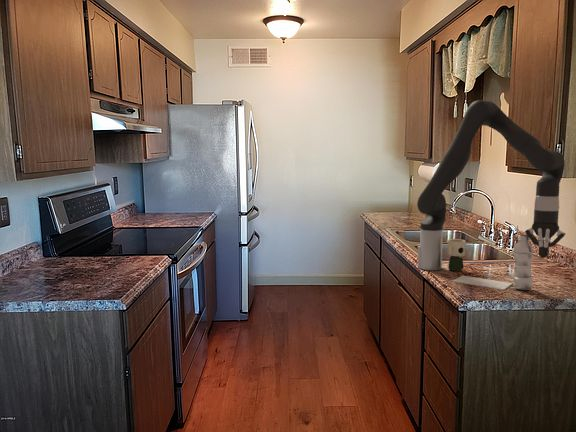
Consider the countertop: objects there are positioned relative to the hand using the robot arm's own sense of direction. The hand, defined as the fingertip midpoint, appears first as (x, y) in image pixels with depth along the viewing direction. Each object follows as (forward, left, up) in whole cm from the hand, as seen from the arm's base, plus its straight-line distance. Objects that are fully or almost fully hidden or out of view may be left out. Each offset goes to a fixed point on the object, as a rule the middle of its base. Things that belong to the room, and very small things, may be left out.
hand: (543, 257), depth 168 cm
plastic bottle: (-6, 0, -13) cm, 14 cm away
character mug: (-36, +13, -13) cm, 41 cm away
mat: (-21, 0, -13) cm, 24 cm away
